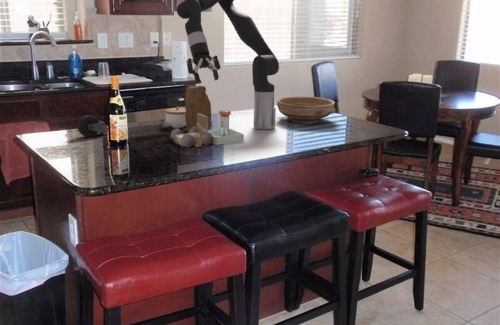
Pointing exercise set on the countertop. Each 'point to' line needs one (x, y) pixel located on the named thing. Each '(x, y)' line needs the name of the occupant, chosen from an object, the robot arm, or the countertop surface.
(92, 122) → the caster wheel
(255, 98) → the robot arm
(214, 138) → the tray
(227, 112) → the copper topped glass grinder
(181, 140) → the trolley
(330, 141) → the countertop surface
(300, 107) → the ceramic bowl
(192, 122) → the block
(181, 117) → the lidded jar
